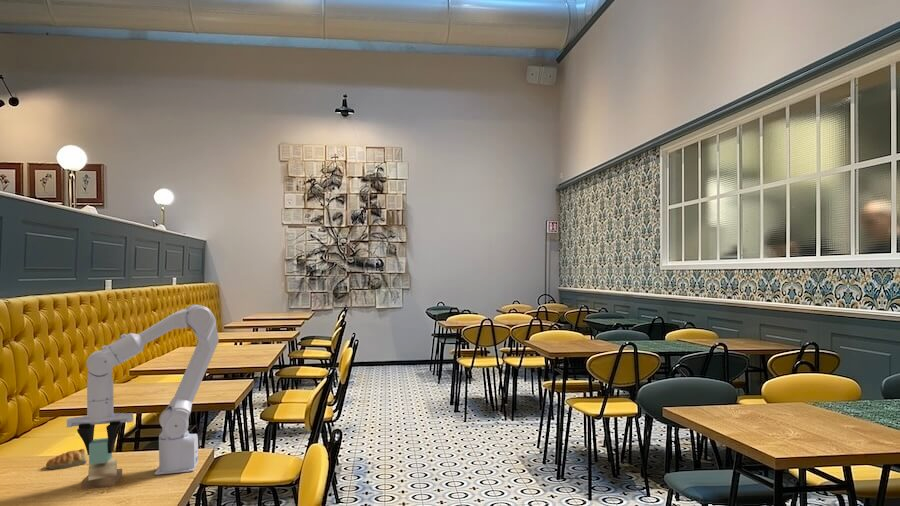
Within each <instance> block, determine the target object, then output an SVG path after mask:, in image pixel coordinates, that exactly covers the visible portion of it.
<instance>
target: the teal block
mask: <svg viewBox="0 0 900 506" xmlns="http://www.w3.org/2000/svg"><path fill="white" fill-rule="evenodd" d="M112 458H113V452H112V453H108V437H105V438H104V437H103V438H93V441H92V442H91V443H89V455H88V465H89V464H94V463H105V462H108V461H109V460H112Z"/></svg>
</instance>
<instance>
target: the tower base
mask: <svg viewBox="0 0 900 506" xmlns="http://www.w3.org/2000/svg"><path fill="white" fill-rule="evenodd" d="M122 477H123V468H117V476H111V477H106V478H100V479H94V480H88V475H87V476H86V477H84V478H83V479H82V480H81V490H88V489H96V488H106V487H107V488H109V487H114V486H115V485H116V484H117V483H118V482H119V481H120V480H121V478H122Z"/></svg>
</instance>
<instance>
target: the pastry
mask: <svg viewBox="0 0 900 506" xmlns="http://www.w3.org/2000/svg"><path fill="white" fill-rule="evenodd" d="M86 453H87V452H86V448H80V449H77V450H69V451H67V452H65V453H62V454H59V455H57V456H55V457H53V458H50V459H49V460H48V461H47V462H46V464H45V467H46V469H50V470H57V469H67V468H72V467H78V466H82V465H86V464H87V462H88V459H87V454H86Z"/></svg>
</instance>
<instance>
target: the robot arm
mask: <svg viewBox="0 0 900 506" xmlns="http://www.w3.org/2000/svg"><path fill="white" fill-rule="evenodd" d="M188 327H189V328H190V329H191V330H192V331H193V333H194V335H195V337H196V339H197V344H196V346H195V348H194V351H193V354H192V355H191V358H190V359H189V362H188V364H187V367H186V369H185V371H184V373H183V376H182V377H181V380H180V382H179V385H178V387H177V389H176V392H175V394H174V396H173V397H172V399H171V400H170V401H169V404H168V405H167V407H166V408H165V409H164V410H163V411H162V412H161V413H160V414H159V418H158V420H159V421H158V423H159V425H160V427H161V428H162V430H161V432H160V433H159V435H158V461H159V462H158V468H157V470H156V471H155V472H154V475H155V476H158V475H168V474H169V475H170V474H177V473H189V472H194V471H195V469H196V467H197V466H198V464H199V461H200V460H199V435H198V433H190V432H189V426H190V425H189V424H190V422H189V421H190V420H189V418H190V415H191V413H192V408H193V407H192V406H193V402H194V400H195V397H196V395H197V392H198V391H199V388H200V386H201V383H202V381H203V379H204V377H205V374H206V372H207V370H208V367H209V365H210V362H211V360H212V358H213V356H214V353H215V350H216V348H217V347H218V345H219V342H220V341H219V334H218V333H219V332H218V328H217V327H218V326H217V319H216V317H215V315H214V313H213V312H212V310H211V309H210V308H208V307H207V306H205V305H200V304H195V303H194V304H191V305H189V306H188V307H186V308H182V309H179V310H178V311H176V312H173V313H171V314H169V315H167V316H166V317H165V318H163V319H160V320H159V321H158V322H157V323H155V324H152V326H149V327H148V328H146V329H145V330H143V331H141V332H140V333H133V332H130V333H128V334H126V333H123V334H121V335H120V337H119V339H116V340H115V341H113V342H112V343H110V344H108V345H105V344H103V346H101V349H102V350H95V351H93V352H92V353H91V354H90V355H89V356H88V357H87V360H86V367H87V371H88V373H87V375H86V376H87V382H86V402H87V403H86V405H87V406H86V409H87V410H86V411H87V413H86V415H84V416H75V417H69V418H67V419H66V428H72V427H78V428H77V429H76V431H77V434H78V435H79V436H80V439H82V442H83V443H84V447H85V451H86V453H87V454H86V455H87V456H89V443H91V442H92V441H93V440H94V435H95V425H105V424H108V425H106V427H105V428H106V433H107V438H108V453H112V454H113V452H114V449H115V443H116V441H117V437H118V435H119V432H120V430H121V428H122V426H123V425H124V423H127V424H128V423H129V424H130V423H132V422H133V421H134V413H133V412H128V413H127V412H124V413H122V412H121V413H115V412H114V407H115V405H114V401H115V400H114V379H113V370H114V368H115V366H120V365H121V364H124V363H125V362H127V361H128V360H130V359H132V358H134V357H136V356H137V355H139V354H140V353H142V352H144V348H145V345H146V344H148V343H151V342H152V341H154V340H156V339H158V338H160V337H162V336H164V335H165V334H168V332H170V331H172V330H175V329H187V328H188Z"/></svg>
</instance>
